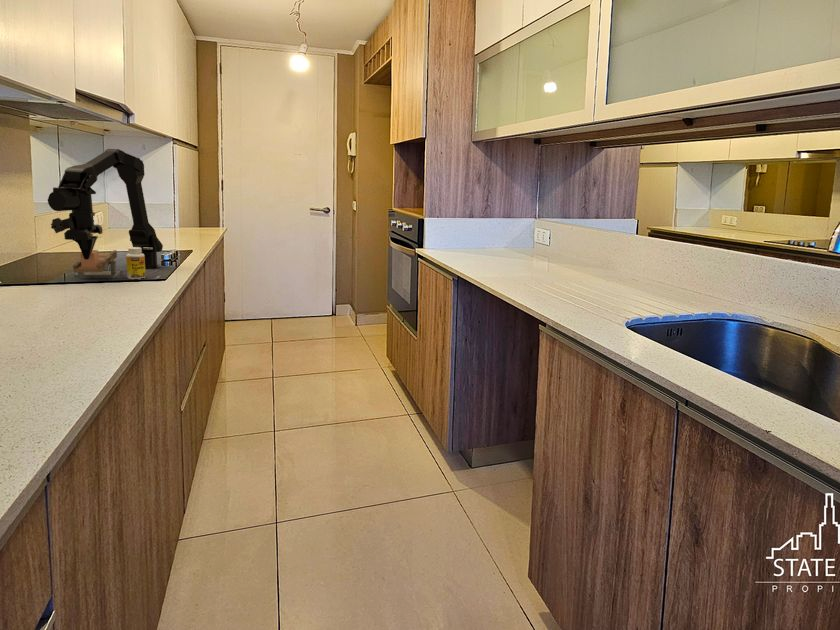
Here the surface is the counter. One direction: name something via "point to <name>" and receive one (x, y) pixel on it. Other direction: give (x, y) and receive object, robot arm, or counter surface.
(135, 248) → the supplement bottle
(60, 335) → the counter surface
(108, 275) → the pivot stand
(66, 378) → the counter surface
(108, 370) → the counter surface
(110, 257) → the brown tray
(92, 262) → the rider block
